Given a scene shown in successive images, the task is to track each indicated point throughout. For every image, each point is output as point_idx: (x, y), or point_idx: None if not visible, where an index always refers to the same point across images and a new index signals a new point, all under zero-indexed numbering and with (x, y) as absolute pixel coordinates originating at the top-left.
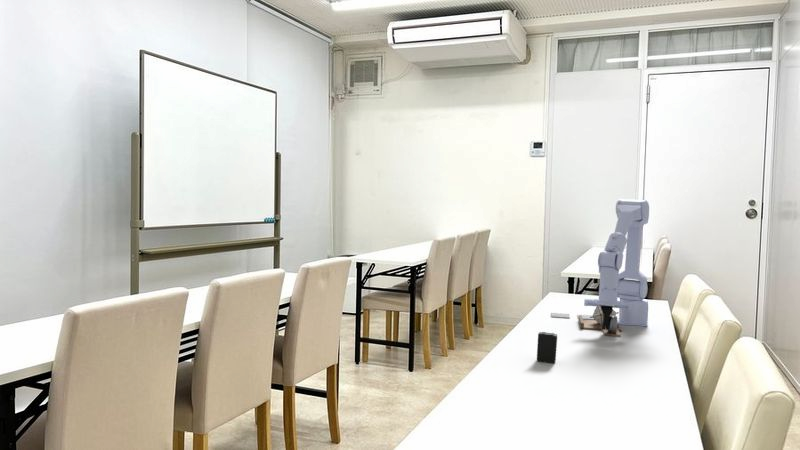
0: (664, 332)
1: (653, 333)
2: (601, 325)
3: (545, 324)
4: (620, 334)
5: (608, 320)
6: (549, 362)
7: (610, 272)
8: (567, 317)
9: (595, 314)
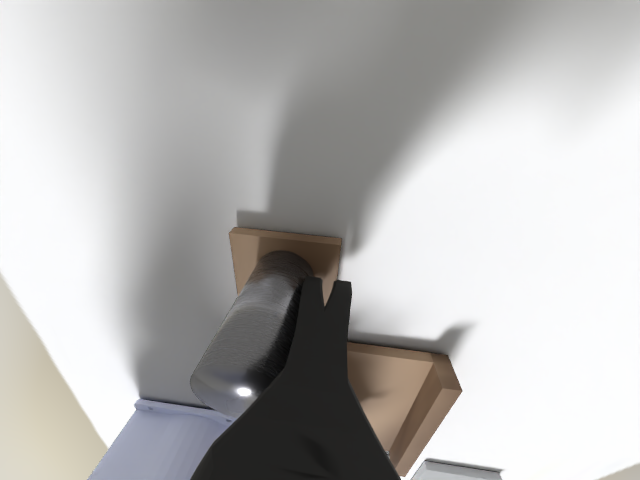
0: (57, 341)
1: (91, 324)
2: None
3: (608, 412)
4: (231, 244)
5: (298, 330)
6: None
7: None
8: (435, 470)
9: None
